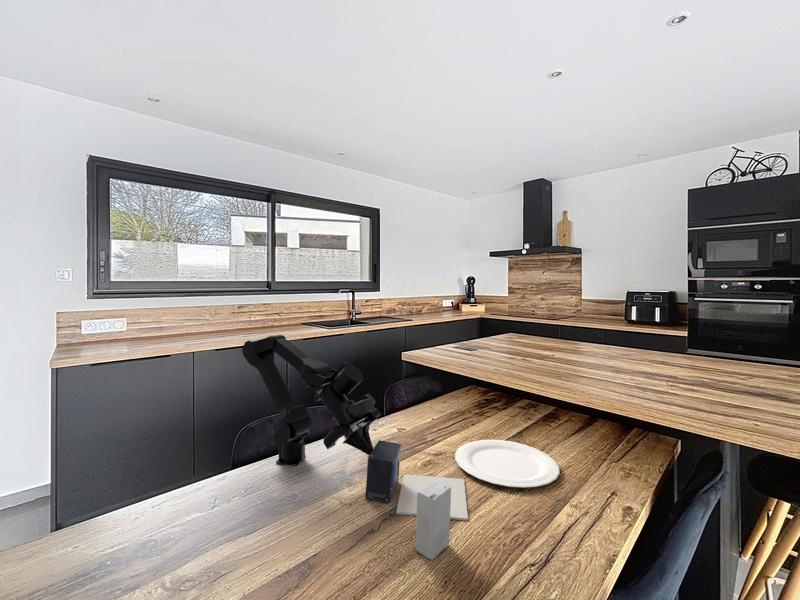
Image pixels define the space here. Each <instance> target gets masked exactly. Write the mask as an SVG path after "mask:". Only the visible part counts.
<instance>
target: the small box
mask: <svg viewBox="0 0 800 600" xmlns="http://www.w3.org/2000/svg"><path fill="white" fill-rule="evenodd" d="M401 445H402V444H401V443H398V442H391V441H386V440H378V441H377V443H376V444H375V446H374V447H373V450H372V452H371V453H370V455H368V456H367V467H366V481H365V482H366V483H365V484H366V485H365V494H364V499H365V500H369V501H375V502H381V503H383V504H384V503H386V504H390V503H391V500H392V497H393V495H394V493H395V490H396V489H397V486H398V483H399V479H400V478H399V477H400V476H399V475H400V461H401Z"/></svg>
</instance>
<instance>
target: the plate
mask: <svg viewBox="0 0 800 600" xmlns="http://www.w3.org/2000/svg"><path fill="white" fill-rule="evenodd" d="M454 458H455V462H456V463H457V465H458V466H459V468H460V469H462V470H463V471H464V472H465V473H466V474H468V475H470V476H472V477H475V478H476V479H478V480H480V481H482V482H486V483H489V484H492V485H496V486H501V487H506V488H515V489H532V488H539V487H543V486H547V485H550V484H551V483H553V482H555V481H556V480H557V479H558V478H559V476H560V467H559V465H558V463H557V461H556V460H554V458H552V457H551V456H549V455H548V454H547V453H545V452H544V451H541V450H539V449H538V448H535V447H532V446H530V445H527V444H524V443H520V442H516V441H509V440H503V439H502V440H501V439H480V440H473V441H470V442H467V443H465V444H463V445H461V446H460V447H459V448H457V450H456V452H455V454H454Z"/></svg>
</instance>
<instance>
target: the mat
mask: <svg viewBox="0 0 800 600" xmlns="http://www.w3.org/2000/svg"><path fill="white" fill-rule="evenodd" d="M433 481H437V482H440V483H442V484H445V485H447V486H449V487H451V506H450V520H456V521H457V520H459V521H467V522H468V521H469V516H468V515H469V514H468V506H467V505H468V504H467V495H466V488H465V479H464V478H453V477H444V476H443V477H442V476H429V475H417V474H403V477H402V483H401V487H400V491H399V497H398V501H397V506H396V510H395V511H396V512H395V514H396V515H403V516H405V515H406V516H415V517H417V492H418V491H420V490H421V489H423V488H424V487H426V486H427V485H429V484H430V483H432V482H433Z"/></svg>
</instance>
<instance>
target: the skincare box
mask: <svg viewBox="0 0 800 600" xmlns="http://www.w3.org/2000/svg"><path fill="white" fill-rule="evenodd" d="M450 506H451V487H449V486H447V485H445V484H442V483H440V482H437V481H433V482H432V483H430V484H429V485H427V486H426V487H424V488H423V489H421V490H420V491H418V492H417V516H416V522H415V526H416V527H415V546H414V547H415V548H414V549H415V551H416V552H418V553H420V554H421V555H422V556H424V557H425V558H427V559H429V560H431V561H432V560H434V559H435V558H436V557H437V556H438V555H439V554H440V553H441V552H442V551H443V550H444V549H445V548H447V547H448V545H449V544H450V527H451V519H450Z"/></svg>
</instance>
